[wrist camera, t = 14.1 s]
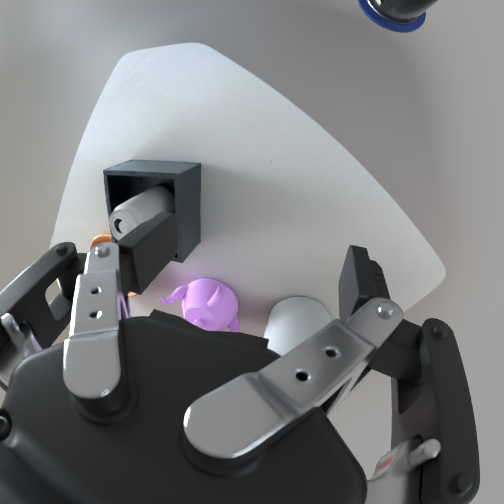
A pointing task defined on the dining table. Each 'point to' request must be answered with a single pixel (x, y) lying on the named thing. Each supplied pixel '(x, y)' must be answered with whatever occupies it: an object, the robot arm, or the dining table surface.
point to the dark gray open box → (169, 176)
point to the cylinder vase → (294, 323)
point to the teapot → (207, 304)
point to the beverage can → (140, 210)
